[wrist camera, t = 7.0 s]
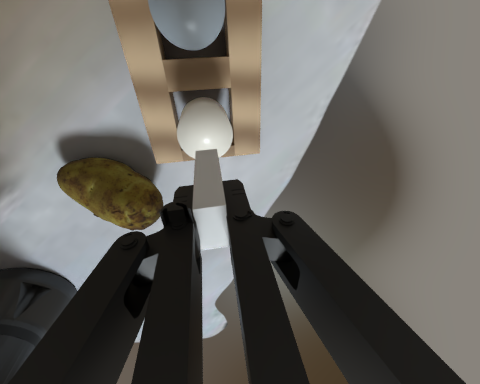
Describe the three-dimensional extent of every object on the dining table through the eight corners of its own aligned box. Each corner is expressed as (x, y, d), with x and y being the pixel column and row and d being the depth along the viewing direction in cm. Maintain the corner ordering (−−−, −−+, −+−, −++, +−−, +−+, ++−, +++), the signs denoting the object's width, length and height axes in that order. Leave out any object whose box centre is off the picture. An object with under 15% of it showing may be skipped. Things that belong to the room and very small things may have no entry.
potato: (91, 127, 27) (56, 152, 20) (176, 182, 33) (170, 215, 27) (62, 171, 29) (23, 206, 23) (146, 214, 36) (134, 251, 29)
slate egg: (222, 49, 22) (227, 48, 17) (166, 51, 21) (158, 52, 17) (216, -28, 18) (221, -51, 14) (151, -28, 18) (136, -51, 14)
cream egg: (229, 142, 27) (234, 158, 23) (185, 146, 27) (182, 163, 23) (225, 95, 24) (231, 104, 20) (176, 98, 23) (171, 109, 19)
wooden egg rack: (255, 145, 32) (259, 153, 29) (160, 154, 30) (156, 164, 28) (255, -259, 15) (266, -321, 12) (39, -284, 13) (2, -359, 11)
